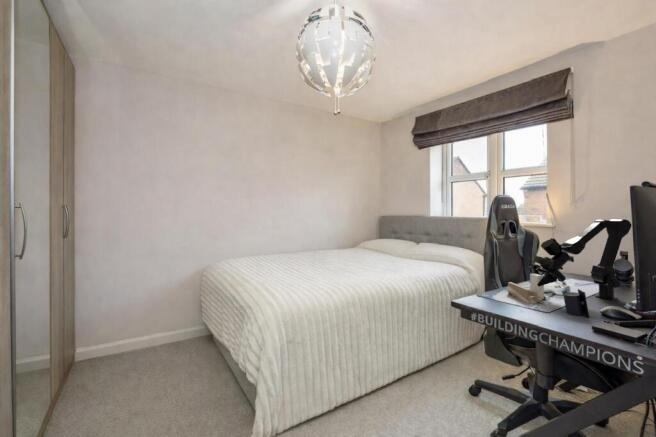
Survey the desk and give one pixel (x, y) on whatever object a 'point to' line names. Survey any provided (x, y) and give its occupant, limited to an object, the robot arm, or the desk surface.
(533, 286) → the cream rectangular block
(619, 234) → the robot arm
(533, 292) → the offcut stack
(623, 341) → the desk surface
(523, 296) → the rack
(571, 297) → the speaker
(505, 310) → the desk surface
